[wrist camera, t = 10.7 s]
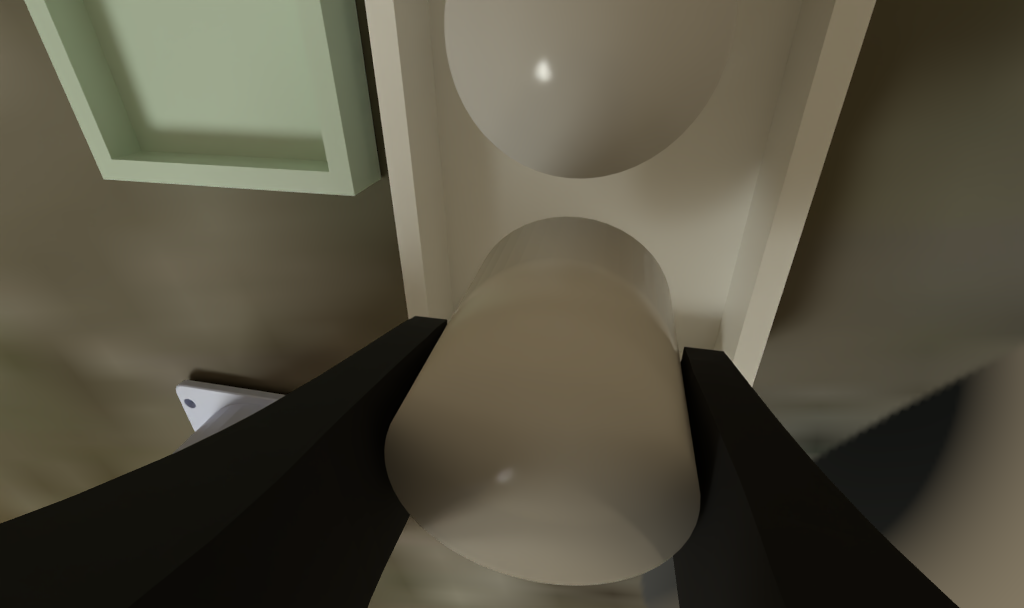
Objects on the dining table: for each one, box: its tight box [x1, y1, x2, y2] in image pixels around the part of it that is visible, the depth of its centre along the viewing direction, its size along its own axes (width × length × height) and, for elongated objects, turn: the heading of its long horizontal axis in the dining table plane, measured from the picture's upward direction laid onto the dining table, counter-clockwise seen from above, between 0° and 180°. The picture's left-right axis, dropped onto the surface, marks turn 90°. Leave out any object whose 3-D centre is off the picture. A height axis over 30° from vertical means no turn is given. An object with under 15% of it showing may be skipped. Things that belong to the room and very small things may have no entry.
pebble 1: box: [444, 0, 737, 179], centre depth 9 cm, size 4×4×4 cm
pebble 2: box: [384, 217, 701, 586], centre depth 8 cm, size 4×4×4 cm
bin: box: [365, 0, 876, 387], centre depth 11 cm, size 12×9×2 cm
